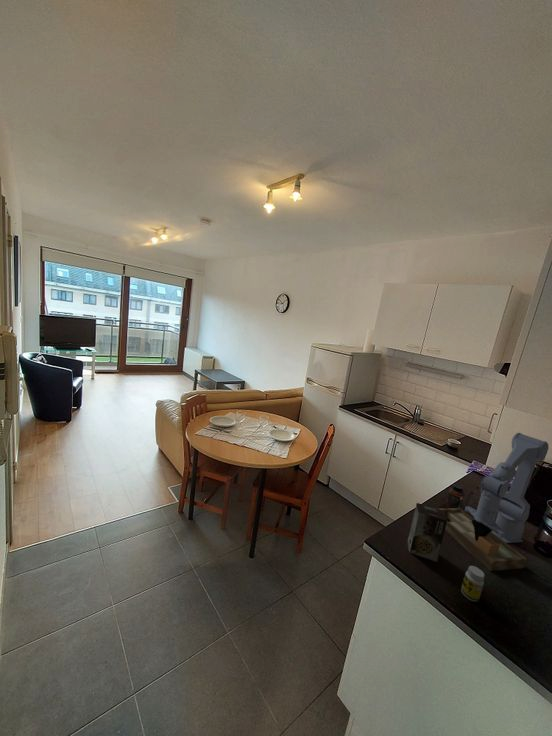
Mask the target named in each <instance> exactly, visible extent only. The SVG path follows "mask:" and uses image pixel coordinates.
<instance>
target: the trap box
mask: <svg viewBox="0 0 552 736" xmlns="http://www.w3.org/2000/svg"><path fill="white" fill-rule="evenodd" d="M437 509H440V510H443V511H444V514H445V516H446V519H447V524H446V528H445V532H446V533H448V534H449V536H451V537H452V538H453V539H454V540H455V541H457V543H458V544H459V545H461V547H463V548H464V549H465V550H466V551H467V552H468V553H469V554H470V555H472V556H473V557H474V559H476V560H477V561H478V562H479V563H481V565H483V566H484V567H485V568H486V569H487V570H488V571H489V572H493V571H494V572H495V571H496V572H497V571H507V570H517V569H524V568H525V566H526V563H527V561H528V558H527V557H526V556H524V554H521V553H520V552H519V551H517V550H516V549H514V548H513V546H511V545H510V544H509V543H506V542H504V541H503V540H502V539H500V538H499V537H498V536H496V535H495V534H494V533H492V532H490V533H488V534H487V535H486V536H488V537H490V538H491V539H492V540H494V541H495V542H496V543H497V544H499V545H500V547H499V550H498V553H497V555H493V556H488V555H487V554H486V553H485V552H483V551H482V550H481V549H480V548H479V547H478V546H476V544H477V541H476V540H475V531H474V526H473V523H472V520H475V519H474V516H472V515H471V514H470V513H468V512H466V511H465V510H464V509H462V507H461V508H448V507H446V508H444V507H443V508H437ZM448 520H449V521H448Z"/></svg>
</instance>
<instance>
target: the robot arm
mask: <svg viewBox="0 0 552 736" xmlns="http://www.w3.org/2000/svg"><path fill="white" fill-rule="evenodd" d="M511 449H512V450H511V451H510V453H509V454H508V456H507V458H506V460H505V461H504V462H499V463H498V464H497V465H496V467H495V468H494V469H493V471H492V472H491V473H490V474H489V475H484V477H483V478H482V480H481V482H480V498H479V501H478V505H477V508H476V509H474V508H472V506H465V508H464V511H465V512H466V513H467V514H469V515H470V516H471V517H473V518H474V519H475V520H472V523H473V526H474V531H475V540H476V541H478V537H481V536H486V535H487V534H488V533H490V532H492V533H494V534H495V535H496V536H498V537H499V538H500V539H502V540H503V541H504V542H506V543H507V544H513V543H523V542H524V541H523V540H522V536H523V533H524V530H525V522H526V521H527V520H528V518H529V515H530V509H531V505H530V503H528V501H527V500H526V499H525V494H526V492H527V489H528V487H529V485H530V481H531V479H532V475H533V473H534V471H535V467H536V465H537V463H538V462H544V460H545V459H546V457H547V454H548V450H549V443H548V442H547V441H546V440H541V439H538V438H535V437H532V436H529V435H526V434H523V433H521V432H516V433H515V434H514V435H513V437H512V438H511ZM510 483H511V485H510ZM508 488H509V490H508Z"/></svg>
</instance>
